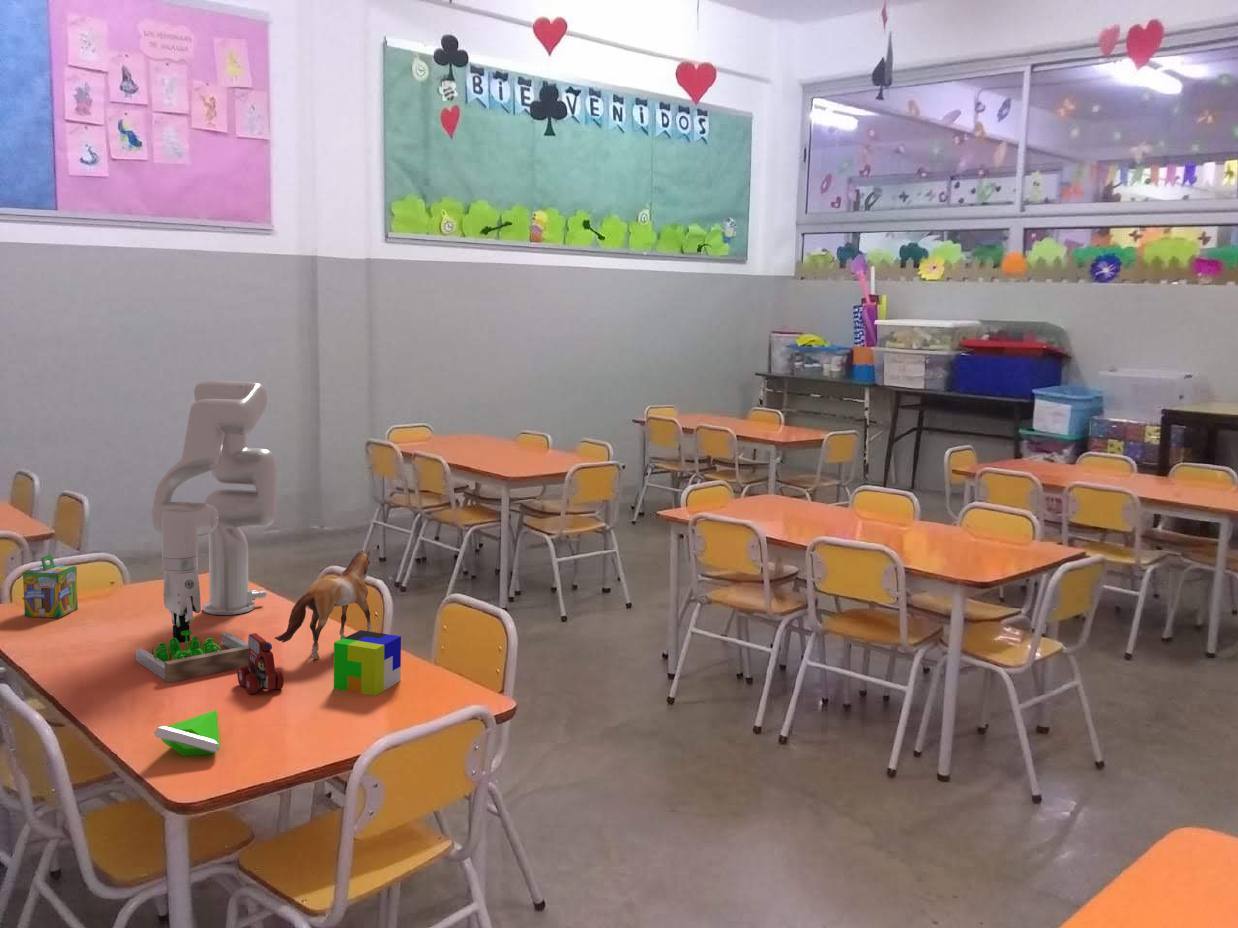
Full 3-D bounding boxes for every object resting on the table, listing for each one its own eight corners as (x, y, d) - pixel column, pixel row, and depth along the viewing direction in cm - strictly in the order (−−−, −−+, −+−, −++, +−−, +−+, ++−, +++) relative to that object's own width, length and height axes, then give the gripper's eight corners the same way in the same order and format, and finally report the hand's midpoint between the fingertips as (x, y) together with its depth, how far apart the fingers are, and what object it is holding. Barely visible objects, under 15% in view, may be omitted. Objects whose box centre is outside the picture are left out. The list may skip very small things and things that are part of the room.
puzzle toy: (400, 681, 226) (401, 636, 225) (375, 696, 217) (375, 649, 215) (360, 674, 229) (360, 630, 228) (333, 688, 220) (333, 642, 218)
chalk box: (59, 619, 260) (57, 560, 258) (23, 617, 260) (20, 559, 258) (79, 609, 269) (77, 552, 267) (44, 607, 269) (42, 550, 267)
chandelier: (201, 647, 244) (201, 618, 243) (235, 662, 234) (235, 632, 233) (137, 661, 232) (136, 631, 231) (170, 678, 223) (170, 646, 222)
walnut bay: (228, 643, 246) (228, 626, 246) (263, 662, 234) (263, 645, 233) (135, 660, 232) (135, 643, 231) (168, 682, 219) (168, 664, 218)
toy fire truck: (254, 699, 212) (253, 650, 210) (234, 681, 221) (234, 633, 220) (287, 693, 216) (287, 644, 215) (267, 676, 226) (267, 629, 224)
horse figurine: (362, 628, 262) (363, 548, 259) (388, 633, 259) (389, 552, 256) (273, 662, 234) (273, 572, 231) (300, 668, 231) (300, 577, 228)
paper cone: (181, 719, 205) (146, 751, 180) (191, 693, 205) (157, 721, 181) (238, 735, 207) (211, 769, 182) (248, 709, 207) (222, 739, 182)
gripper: (210, 567, 234) (211, 646, 237) (183, 555, 245) (184, 631, 247) (177, 571, 229) (178, 653, 232) (150, 559, 240) (151, 636, 242)
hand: (181, 641), depth 239 cm, fingers closed
